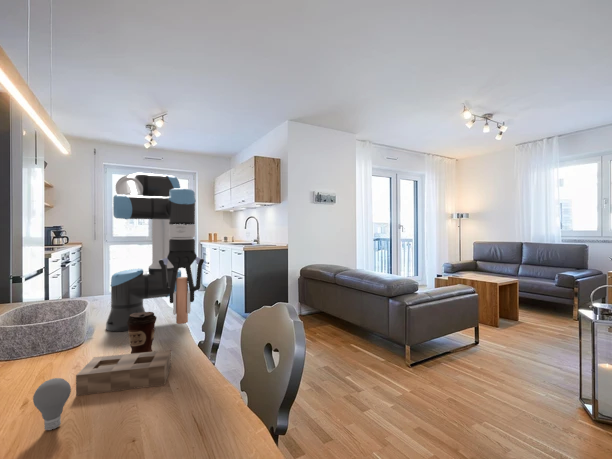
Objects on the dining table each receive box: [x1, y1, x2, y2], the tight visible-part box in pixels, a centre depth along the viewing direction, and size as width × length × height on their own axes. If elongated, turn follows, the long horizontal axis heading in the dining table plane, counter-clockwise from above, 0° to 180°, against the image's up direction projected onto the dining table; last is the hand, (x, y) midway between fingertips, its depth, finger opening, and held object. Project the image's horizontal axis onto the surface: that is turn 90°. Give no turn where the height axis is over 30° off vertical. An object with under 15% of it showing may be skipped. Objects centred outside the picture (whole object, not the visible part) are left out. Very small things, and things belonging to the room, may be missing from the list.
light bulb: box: [32, 377, 72, 431], centre depth 63 cm, size 6×6×10 cm
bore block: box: [75, 349, 172, 397], centre depth 84 cm, size 11×20×5 cm, turn 105°
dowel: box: [175, 276, 189, 325], centre depth 97 cm, size 3×3×14 cm
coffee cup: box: [127, 311, 157, 354], centre depth 101 cm, size 9×8×13 cm
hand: (182, 312), depth 97 cm, fingers closed on dowel, 3 cm apart
